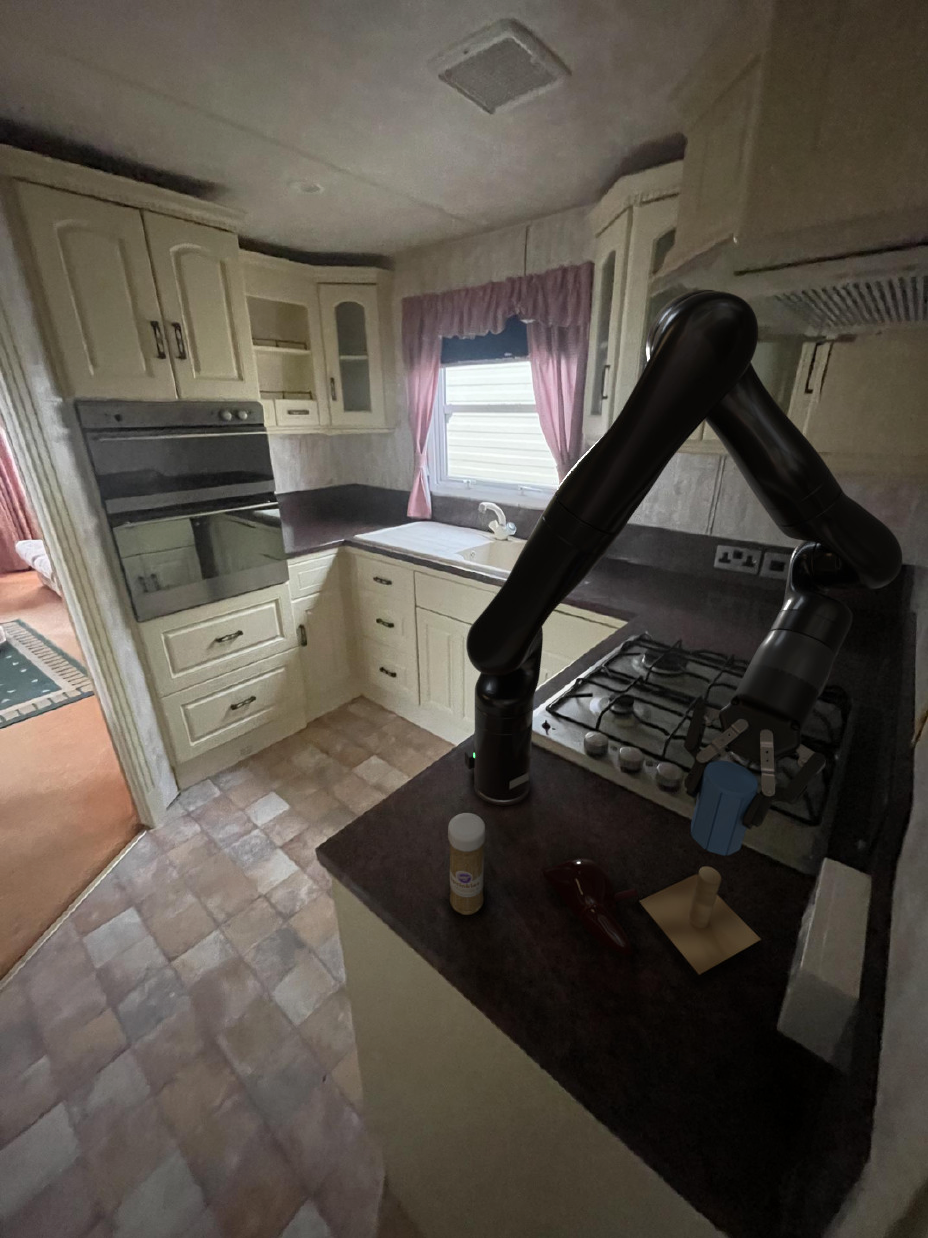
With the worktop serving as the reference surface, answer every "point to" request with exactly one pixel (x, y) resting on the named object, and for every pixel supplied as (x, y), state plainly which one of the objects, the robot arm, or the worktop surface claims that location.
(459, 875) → the sprinkles bottle
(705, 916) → the dowel stand
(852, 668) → the worktop surface
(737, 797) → the blue sleeve
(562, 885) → the dark red glossy lump
